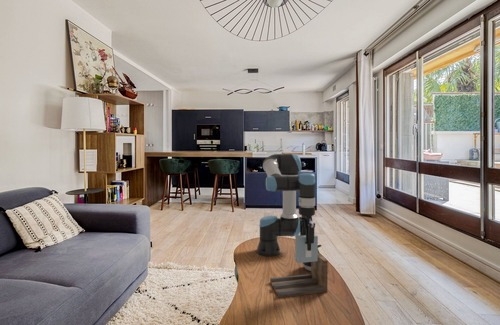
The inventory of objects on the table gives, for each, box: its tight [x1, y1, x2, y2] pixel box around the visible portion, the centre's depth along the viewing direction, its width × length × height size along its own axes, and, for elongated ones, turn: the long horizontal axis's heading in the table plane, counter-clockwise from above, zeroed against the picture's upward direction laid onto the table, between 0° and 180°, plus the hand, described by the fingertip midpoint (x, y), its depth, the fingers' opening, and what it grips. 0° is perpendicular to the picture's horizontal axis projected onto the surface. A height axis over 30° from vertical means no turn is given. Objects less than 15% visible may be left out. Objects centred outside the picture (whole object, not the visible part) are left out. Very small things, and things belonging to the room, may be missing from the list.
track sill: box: [269, 252, 329, 298], centre depth 129 cm, size 14×24×15 cm, turn 101°
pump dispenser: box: [302, 244, 322, 272], centre depth 149 cm, size 10×10×15 cm
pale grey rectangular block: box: [294, 233, 319, 264], centre depth 126 cm, size 3×10×12 cm, turn 101°
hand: (306, 255), depth 126 cm, fingers closed on pale grey rectangular block, 3 cm apart
